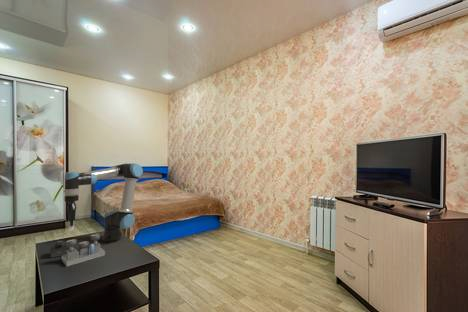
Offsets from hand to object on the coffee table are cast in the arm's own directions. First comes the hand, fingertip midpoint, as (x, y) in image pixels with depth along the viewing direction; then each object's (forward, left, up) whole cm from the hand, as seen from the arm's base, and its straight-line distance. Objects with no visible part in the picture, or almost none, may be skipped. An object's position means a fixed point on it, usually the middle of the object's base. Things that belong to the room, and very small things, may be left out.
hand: (71, 230), depth 147 cm
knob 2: (-14, 0, -14) cm, 20 cm away
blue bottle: (-11, +5, -17) cm, 21 cm away
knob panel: (-7, 0, -20) cm, 21 cm away
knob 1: (0, 0, -14) cm, 14 cm away
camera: (+2, -18, -20) cm, 27 cm away
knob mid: (-7, 0, -17) cm, 18 cm away
